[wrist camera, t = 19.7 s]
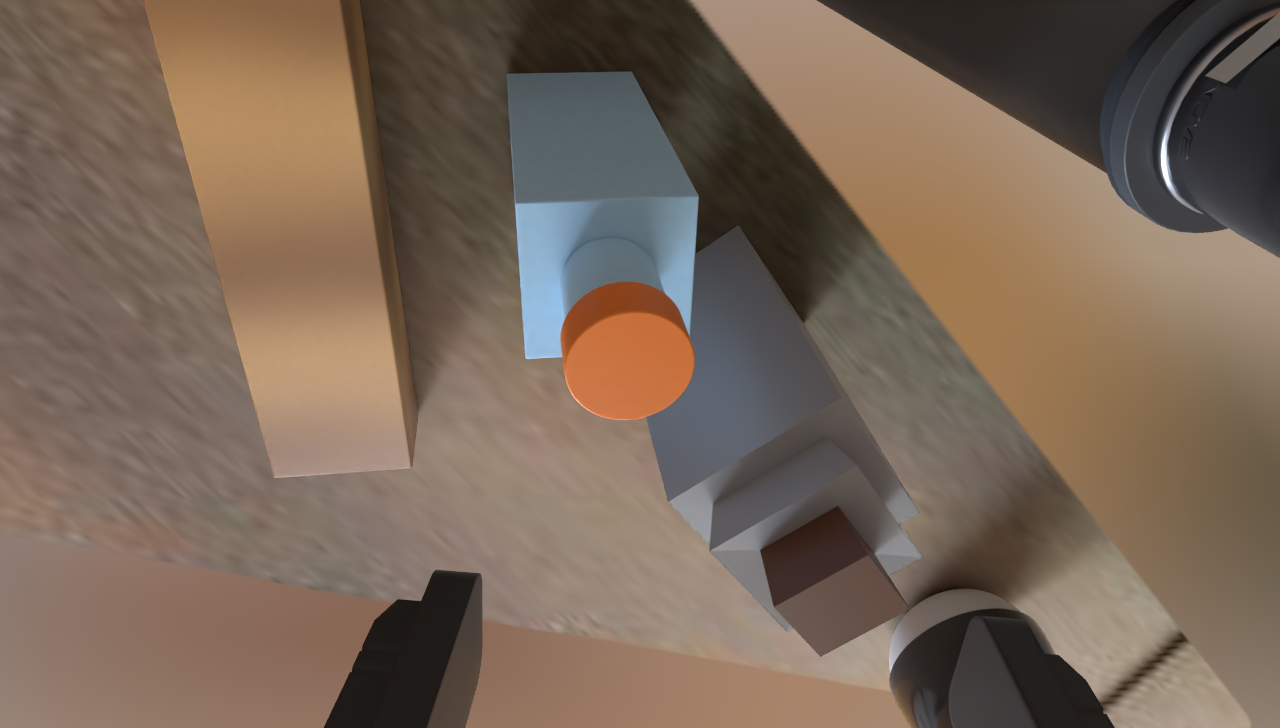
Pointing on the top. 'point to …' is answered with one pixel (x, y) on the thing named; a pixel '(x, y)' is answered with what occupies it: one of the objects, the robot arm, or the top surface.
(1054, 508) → the top surface
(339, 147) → the wooden board
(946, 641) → the pump dispenser
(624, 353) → the light blue bottle
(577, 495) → the top surface
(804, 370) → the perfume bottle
